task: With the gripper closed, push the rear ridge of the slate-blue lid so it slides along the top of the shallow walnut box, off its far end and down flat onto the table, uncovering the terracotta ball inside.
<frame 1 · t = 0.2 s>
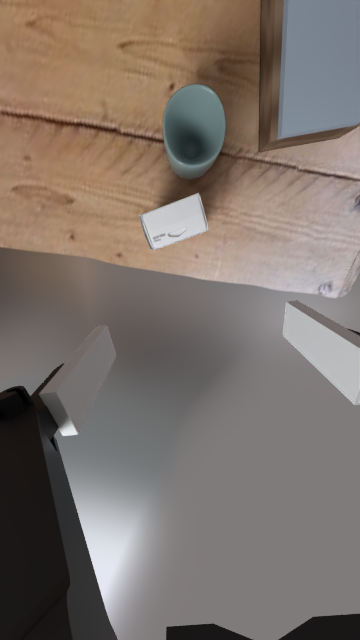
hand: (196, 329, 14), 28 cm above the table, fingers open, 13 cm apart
lid: (326, 39, 24), point 4 cm above the table, touching box
cup: (189, 157, 33), on the table
box: (304, 67, 28), on the table
ink box: (175, 226, 37), on the table
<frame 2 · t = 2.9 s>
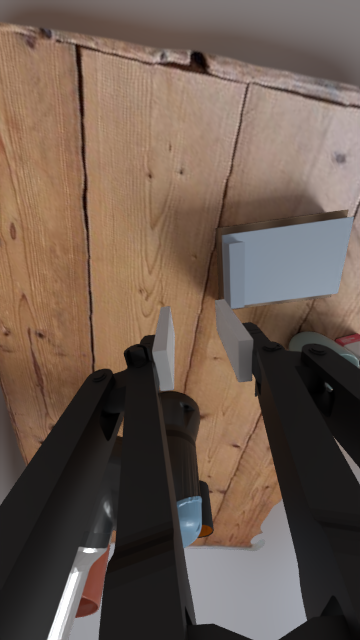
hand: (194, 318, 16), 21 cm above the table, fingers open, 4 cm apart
lid: (280, 264, 30), point 4 cm above the table, touching box
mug: (195, 489, 65), on the table
cup: (300, 341, 42), on the table
box: (268, 261, 35), on the table
planter: (92, 492, 65), on the table
ink box: (343, 351, 43), on the table
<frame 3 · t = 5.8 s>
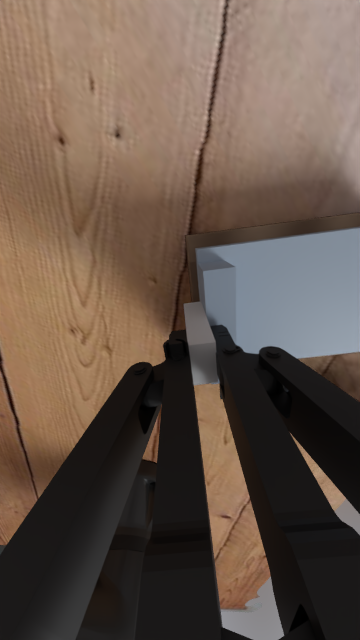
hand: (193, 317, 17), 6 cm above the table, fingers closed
lid: (300, 299, 17), point 5 cm above the table, touching gripper
box: (271, 288, 22), on the table
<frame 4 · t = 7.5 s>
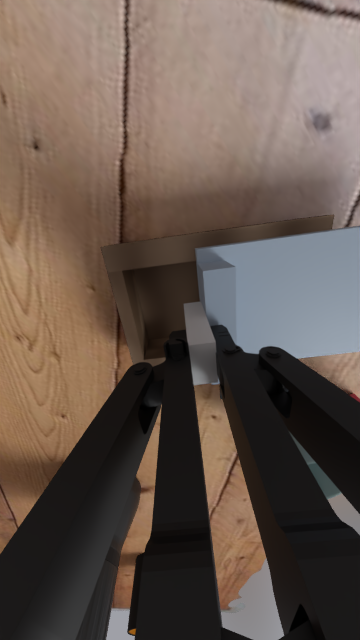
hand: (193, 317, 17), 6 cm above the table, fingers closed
lid: (301, 299, 17), point 5 cm above the table, touching gripper
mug: (152, 560, 52), on the table
cup: (271, 402, 29), on the table
box: (210, 294, 22), on the table
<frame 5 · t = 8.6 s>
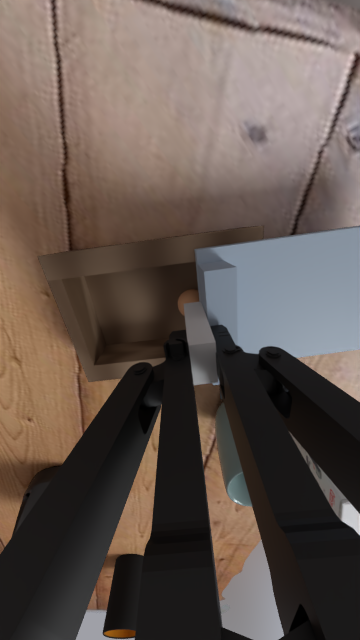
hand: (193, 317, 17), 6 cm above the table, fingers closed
lid: (299, 299, 17), point 4 cm above the table, touching gripper
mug: (132, 562, 52), on the table
ball: (191, 299, 21), resting on box
cup: (235, 406, 29), on the table
box: (164, 301, 22), on the table
ink box: (299, 418, 31), on the table
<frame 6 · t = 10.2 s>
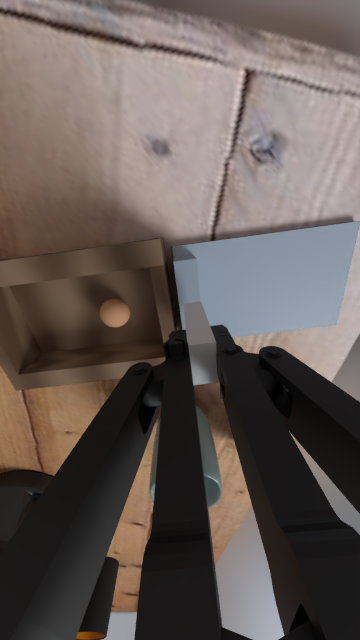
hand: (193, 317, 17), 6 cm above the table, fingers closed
lid: (257, 286, 22), on the table
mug: (104, 564, 53), on the table
ball: (119, 307, 22), resting on box
cup: (182, 411, 29), on the table
box: (94, 309, 22), on the table
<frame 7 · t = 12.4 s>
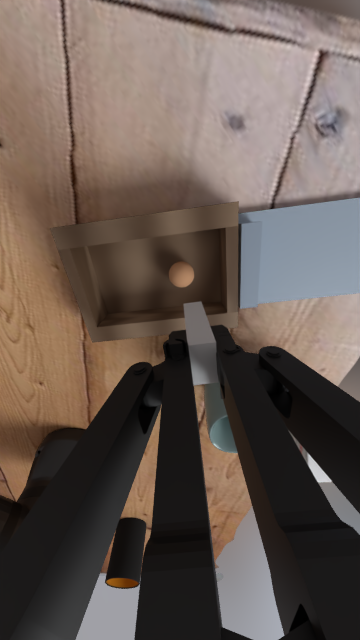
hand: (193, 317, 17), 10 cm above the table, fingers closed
lid: (303, 254, 24), on the table
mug: (132, 526, 57), on the table
ball: (181, 272, 24), resting on box
cup: (224, 375, 32), on the table
box: (158, 274, 25), on the table
ink box: (282, 388, 34), on the table
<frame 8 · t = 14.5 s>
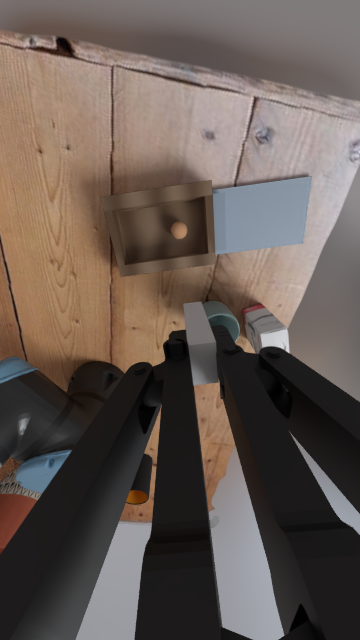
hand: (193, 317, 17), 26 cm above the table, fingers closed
lid: (256, 218, 38), on the table
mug: (141, 463, 68), on the table
ball: (179, 230, 37), resting on box
cup: (210, 311, 45), on the table
box: (163, 232, 38), on the table
planter: (43, 465, 68), on the table
ink box: (253, 321, 46), on the table
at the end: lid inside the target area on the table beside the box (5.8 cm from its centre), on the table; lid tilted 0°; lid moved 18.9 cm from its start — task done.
